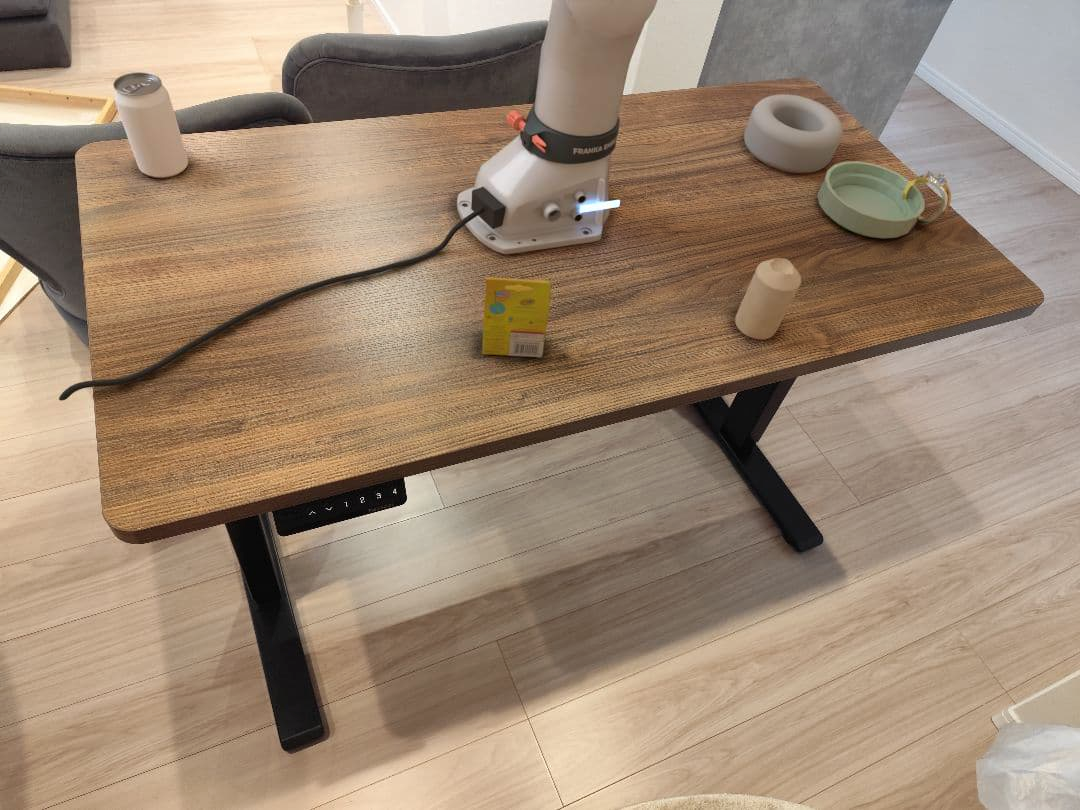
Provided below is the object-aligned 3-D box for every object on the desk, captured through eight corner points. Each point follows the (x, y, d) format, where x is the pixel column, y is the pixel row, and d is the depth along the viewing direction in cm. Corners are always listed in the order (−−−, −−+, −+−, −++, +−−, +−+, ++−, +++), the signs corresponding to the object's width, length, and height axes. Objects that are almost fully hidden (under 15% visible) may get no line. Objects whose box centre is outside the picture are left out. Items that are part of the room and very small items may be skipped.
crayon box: (541, 340, 89) (554, 267, 80) (542, 358, 87) (555, 285, 78) (481, 336, 89) (486, 262, 80) (480, 354, 87) (485, 280, 78)
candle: (776, 344, 94) (806, 285, 86) (733, 334, 94) (760, 275, 86) (775, 315, 97) (805, 256, 89) (735, 306, 97) (760, 246, 90)
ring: (889, 208, 116) (915, 164, 110) (903, 204, 117) (929, 160, 111) (922, 234, 112) (951, 190, 106) (936, 230, 114) (965, 186, 108)
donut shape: (786, 120, 131) (800, 84, 126) (847, 165, 123) (865, 128, 118) (723, 136, 125) (736, 99, 120) (784, 185, 117) (800, 147, 112)
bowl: (866, 252, 108) (878, 230, 105) (795, 195, 116) (805, 173, 113) (931, 227, 114) (945, 206, 111) (860, 174, 122) (871, 153, 119)
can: (199, 165, 103) (176, 83, 94) (161, 185, 100) (133, 101, 90) (167, 147, 105) (141, 65, 96) (128, 166, 101) (97, 83, 92)
